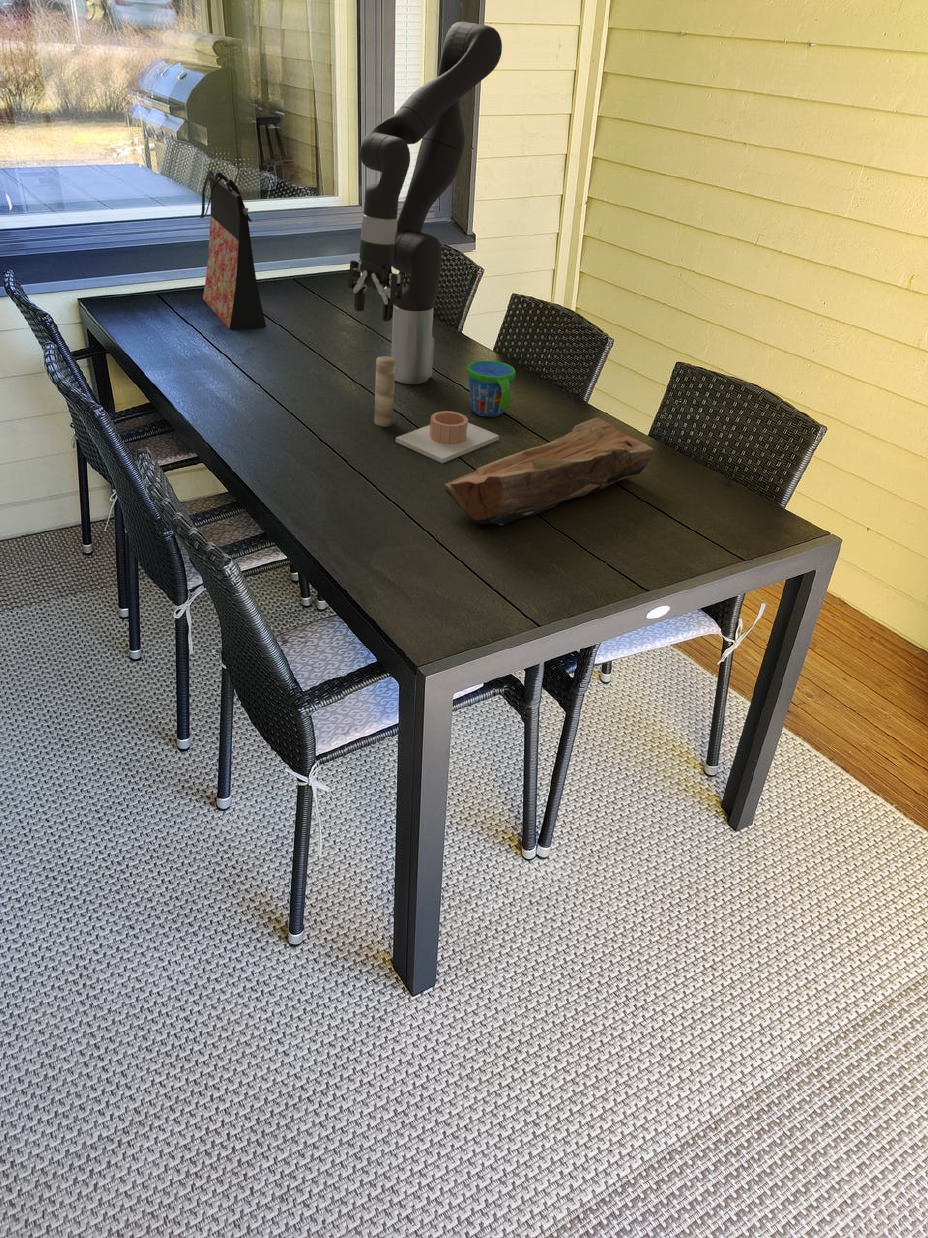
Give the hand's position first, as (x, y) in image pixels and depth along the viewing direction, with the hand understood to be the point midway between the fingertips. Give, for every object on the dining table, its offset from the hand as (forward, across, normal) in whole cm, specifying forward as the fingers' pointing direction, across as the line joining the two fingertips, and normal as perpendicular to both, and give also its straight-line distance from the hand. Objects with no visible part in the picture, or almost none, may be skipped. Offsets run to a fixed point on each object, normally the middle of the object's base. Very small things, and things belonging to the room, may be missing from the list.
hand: (372, 315), depth 216 cm
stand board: (+18, -30, +5) cm, 35 cm away
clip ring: (+17, -30, +5) cm, 35 cm away
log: (+18, -59, +9) cm, 62 cm away
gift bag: (+17, +60, -9) cm, 63 cm away
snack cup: (+17, -25, -14) cm, 33 cm away
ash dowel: (+18, -15, +9) cm, 25 cm away
